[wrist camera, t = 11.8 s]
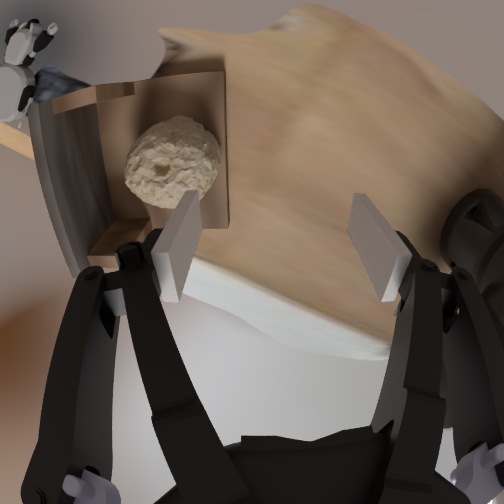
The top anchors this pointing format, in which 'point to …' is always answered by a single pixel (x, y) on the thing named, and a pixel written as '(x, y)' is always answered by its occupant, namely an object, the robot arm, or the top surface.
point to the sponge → (172, 162)
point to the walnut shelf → (118, 160)
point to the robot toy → (21, 67)
